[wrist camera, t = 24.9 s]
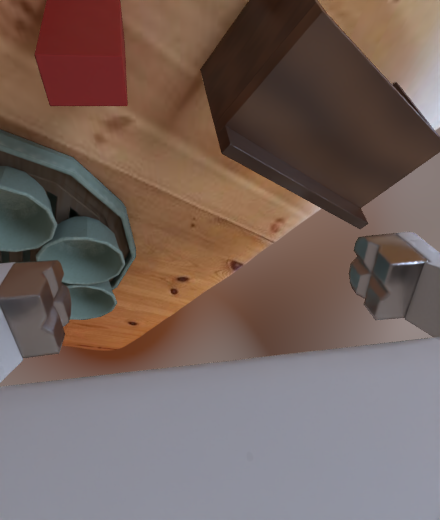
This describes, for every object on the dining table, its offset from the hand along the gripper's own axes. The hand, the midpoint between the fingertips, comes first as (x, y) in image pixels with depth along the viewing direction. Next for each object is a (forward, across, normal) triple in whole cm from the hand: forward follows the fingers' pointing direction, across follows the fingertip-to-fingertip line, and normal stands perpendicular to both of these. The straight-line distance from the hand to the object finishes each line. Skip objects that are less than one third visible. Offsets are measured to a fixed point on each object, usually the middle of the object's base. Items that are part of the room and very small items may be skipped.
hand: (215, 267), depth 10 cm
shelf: (+36, -15, 0) cm, 39 cm away
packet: (+32, +7, -6) cm, 34 cm away
